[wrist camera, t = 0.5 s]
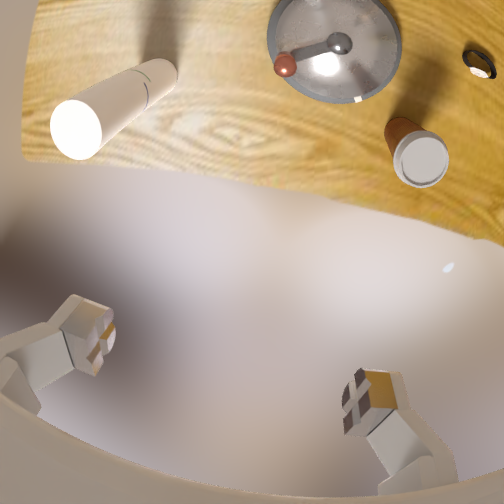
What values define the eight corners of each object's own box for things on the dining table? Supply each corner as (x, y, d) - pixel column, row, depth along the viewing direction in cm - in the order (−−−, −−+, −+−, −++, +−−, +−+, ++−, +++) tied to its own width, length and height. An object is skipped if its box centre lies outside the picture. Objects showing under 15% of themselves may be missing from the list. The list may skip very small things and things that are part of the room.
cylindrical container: (146, 100, 47) (66, 166, 29) (134, 66, 42) (41, 114, 24) (182, 89, 45) (111, 149, 27) (170, 52, 40) (86, 89, 22)
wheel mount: (321, -40, 27) (323, -43, 25) (420, 46, 34) (426, 47, 33) (241, 50, 40) (239, 51, 38) (342, 124, 47) (344, 128, 45)
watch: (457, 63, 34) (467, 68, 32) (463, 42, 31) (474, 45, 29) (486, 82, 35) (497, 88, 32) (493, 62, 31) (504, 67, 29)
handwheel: (370, -22, 26) (390, -30, 20) (407, 82, 37) (432, 98, 31) (250, 11, 33) (242, 8, 26) (299, 112, 44) (302, 132, 37)
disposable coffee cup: (431, 140, 46) (459, 172, 37) (391, 164, 51) (411, 200, 42) (408, 99, 41) (437, 122, 33) (365, 125, 46) (384, 155, 38)
